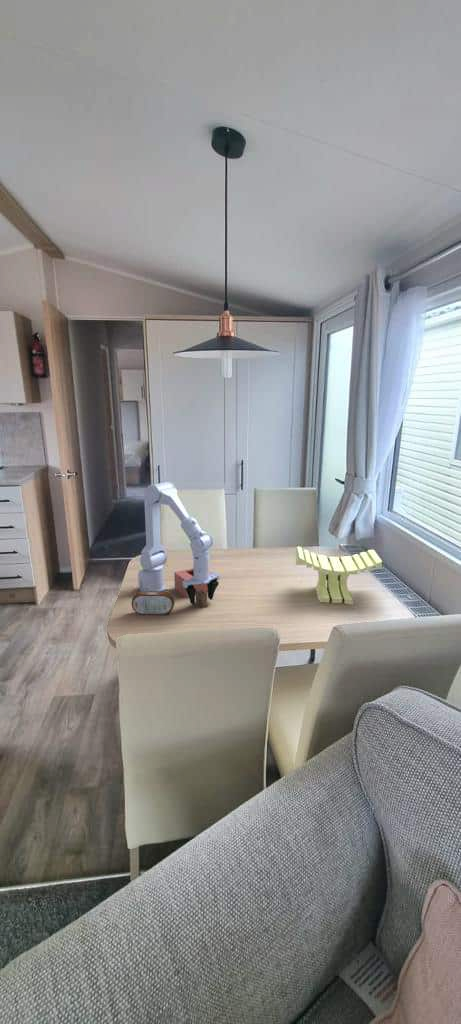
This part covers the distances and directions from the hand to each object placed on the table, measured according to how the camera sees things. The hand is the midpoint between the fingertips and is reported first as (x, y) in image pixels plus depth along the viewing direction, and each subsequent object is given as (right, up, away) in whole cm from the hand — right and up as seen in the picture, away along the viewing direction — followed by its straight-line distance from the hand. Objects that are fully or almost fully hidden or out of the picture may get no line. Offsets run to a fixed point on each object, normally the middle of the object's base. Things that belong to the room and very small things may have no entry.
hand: (201, 601), depth 161 cm
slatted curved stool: (+52, 0, +11) cm, 53 cm away
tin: (-17, -3, -7) cm, 18 cm away
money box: (-4, +2, +13) cm, 14 cm away
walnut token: (0, -1, 0) cm, 2 cm away
